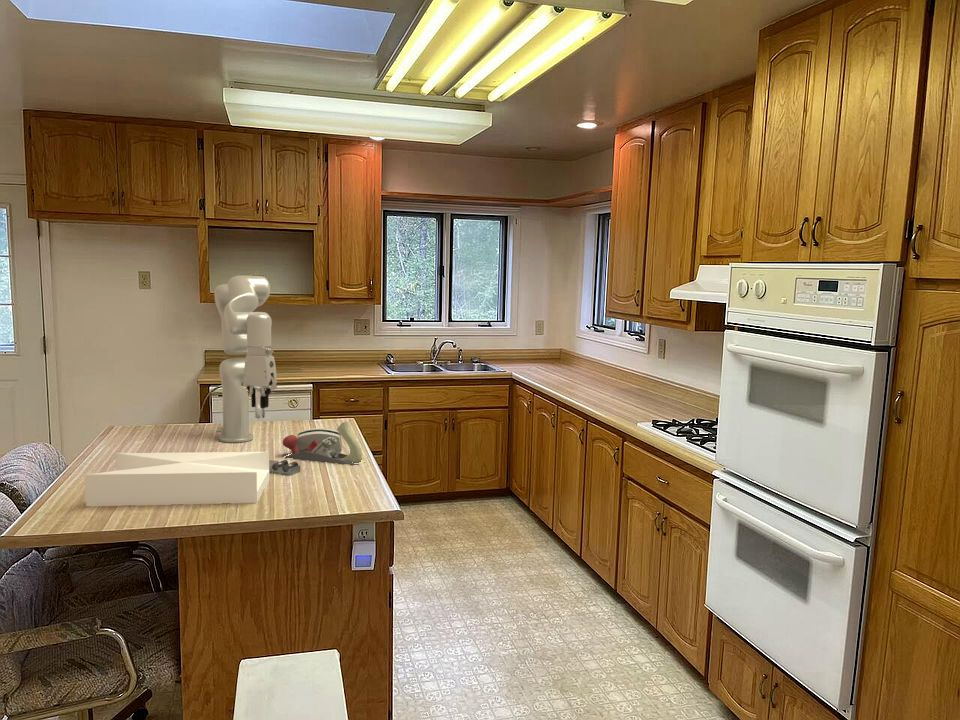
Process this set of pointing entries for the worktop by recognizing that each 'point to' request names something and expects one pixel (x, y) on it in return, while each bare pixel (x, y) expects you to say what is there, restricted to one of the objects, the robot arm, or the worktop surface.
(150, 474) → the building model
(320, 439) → the beige arched grooved block
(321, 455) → the hand plane
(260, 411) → the pin
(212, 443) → the worktop surface
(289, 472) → the knobbed grey strip
